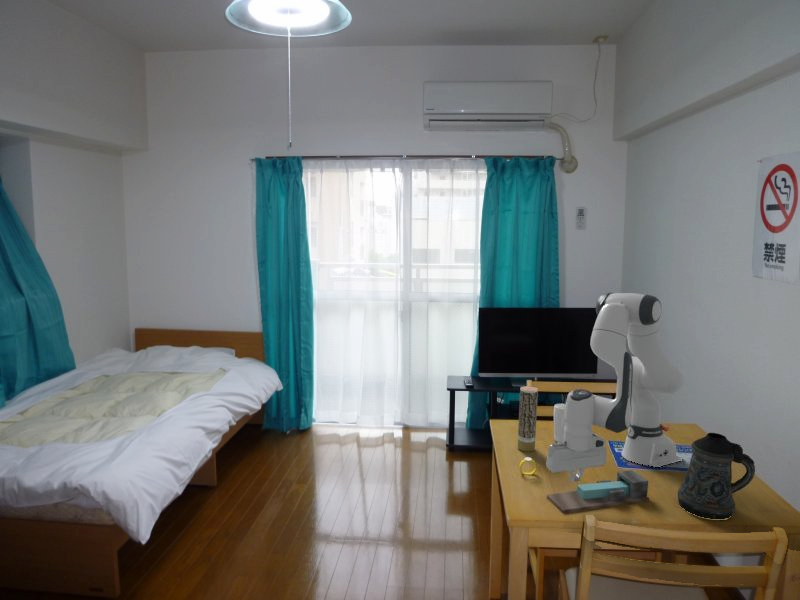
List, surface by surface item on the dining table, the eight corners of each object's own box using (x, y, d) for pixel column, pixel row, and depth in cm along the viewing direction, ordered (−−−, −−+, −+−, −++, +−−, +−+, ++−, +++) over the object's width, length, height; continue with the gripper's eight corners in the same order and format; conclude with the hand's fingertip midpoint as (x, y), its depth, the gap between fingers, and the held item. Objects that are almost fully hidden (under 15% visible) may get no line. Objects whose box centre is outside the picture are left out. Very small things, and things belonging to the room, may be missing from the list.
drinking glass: (570, 439, 236) (572, 405, 233) (567, 445, 230) (569, 410, 227) (553, 436, 239) (555, 402, 236) (550, 442, 232) (552, 407, 230)
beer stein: (669, 493, 191) (675, 423, 187) (729, 497, 189) (737, 426, 185) (688, 520, 175) (696, 443, 171) (754, 524, 173) (764, 447, 169)
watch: (520, 476, 202) (520, 461, 202) (518, 473, 205) (518, 457, 204) (537, 475, 202) (536, 460, 201) (535, 472, 205) (535, 456, 204)
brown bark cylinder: (534, 453, 222) (538, 392, 218) (517, 451, 223) (520, 390, 219) (534, 446, 228) (537, 386, 224) (517, 444, 229) (520, 385, 226)
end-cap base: (629, 486, 196) (630, 468, 195) (648, 500, 186) (650, 482, 185) (546, 497, 187) (547, 479, 186) (563, 513, 178) (564, 493, 177)
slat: (630, 488, 192) (631, 480, 192) (637, 494, 188) (638, 485, 188) (576, 493, 188) (577, 484, 188) (582, 499, 184) (583, 490, 184)
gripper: (554, 447, 175) (551, 489, 177) (610, 440, 180) (607, 481, 183) (543, 439, 181) (541, 480, 183) (598, 433, 186) (596, 472, 189)
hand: (575, 480), depth 183 cm, fingers closed
